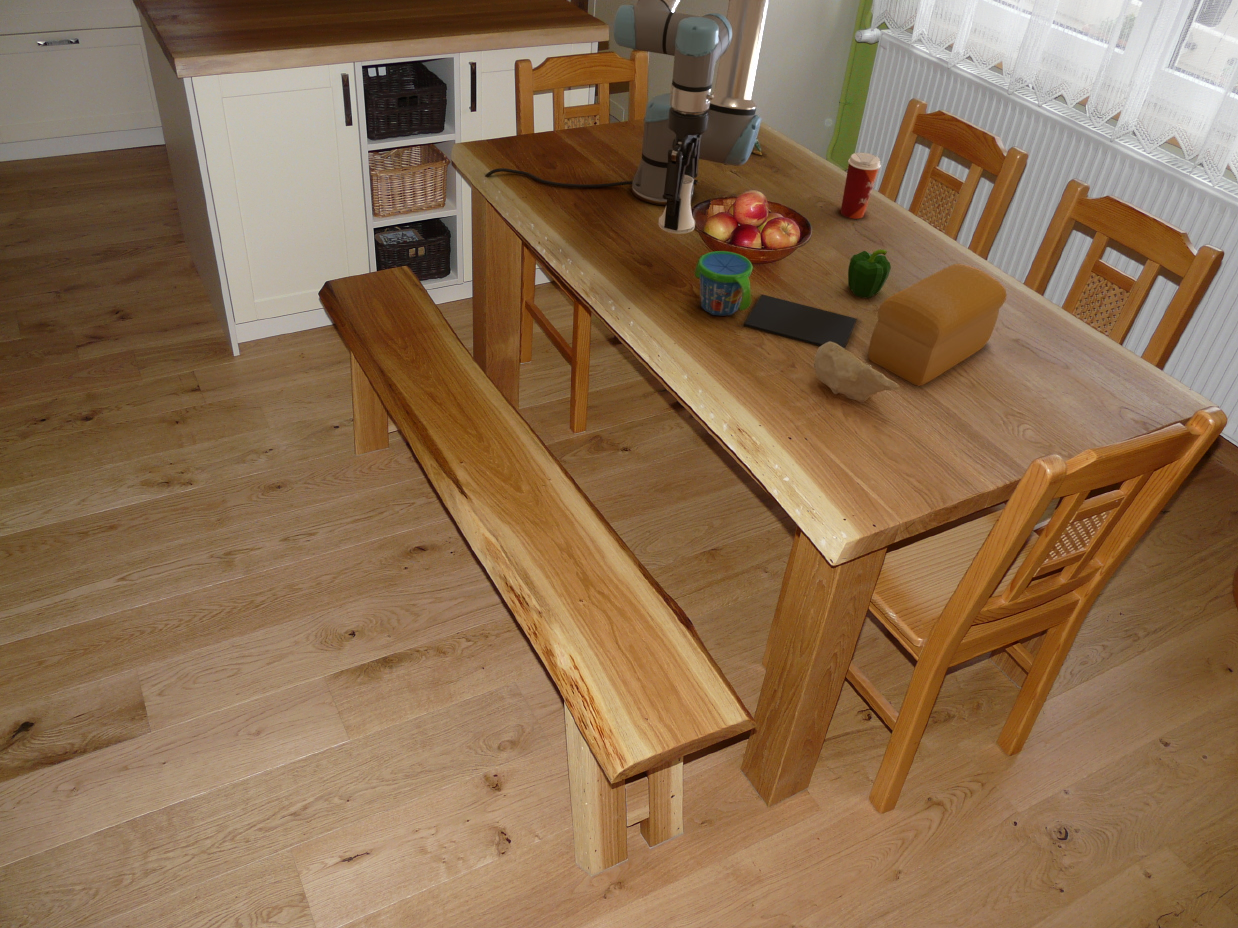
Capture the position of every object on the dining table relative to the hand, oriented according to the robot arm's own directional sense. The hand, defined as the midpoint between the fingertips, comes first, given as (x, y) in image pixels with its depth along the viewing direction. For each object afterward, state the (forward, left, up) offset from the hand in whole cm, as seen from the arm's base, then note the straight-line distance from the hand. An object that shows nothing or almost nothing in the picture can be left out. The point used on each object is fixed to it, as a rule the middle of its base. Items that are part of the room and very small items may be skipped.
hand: (676, 221), depth 190 cm
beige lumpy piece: (+45, -25, -12) cm, 53 cm away
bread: (+55, -4, -12) cm, 57 cm away
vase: (0, 0, -1) cm, 1 cm away
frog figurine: (-9, +78, -12) cm, 79 cm away
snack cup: (+14, -9, -12) cm, 20 cm away
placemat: (+30, -6, -12) cm, 33 cm away
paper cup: (+29, +51, -12) cm, 60 cm away
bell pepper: (+39, +13, -12) cm, 43 cm away
